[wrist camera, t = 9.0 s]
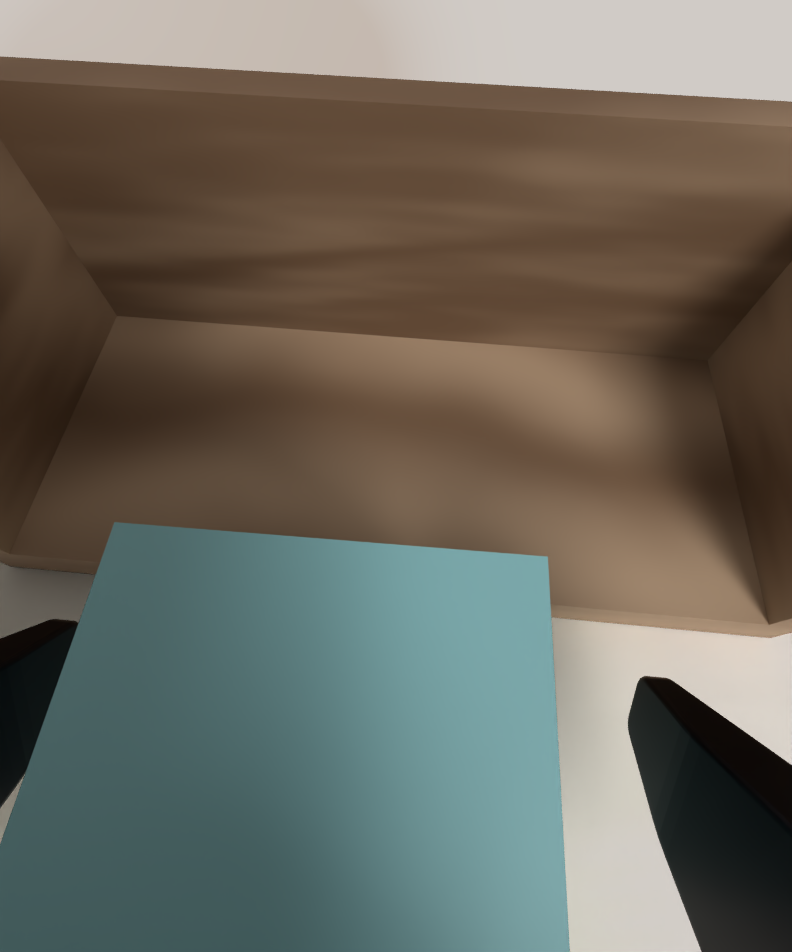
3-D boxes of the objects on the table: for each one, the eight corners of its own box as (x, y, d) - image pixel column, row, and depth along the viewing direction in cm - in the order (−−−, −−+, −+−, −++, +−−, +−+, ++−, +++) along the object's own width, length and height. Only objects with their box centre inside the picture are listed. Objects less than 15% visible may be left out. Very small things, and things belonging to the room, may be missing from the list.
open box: (770, 638, 15) (1210, 526, 7) (10, 566, 16) (-387, 392, 8) (707, 367, 19) (930, 109, 11) (119, 322, 20) (-61, 53, 12)
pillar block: (435, 849, 13) (586, 1254, 3) (276, 833, 13) (-115, 1169, 3) (442, 676, 14) (547, 556, 5) (302, 664, 15) (115, 522, 5)
